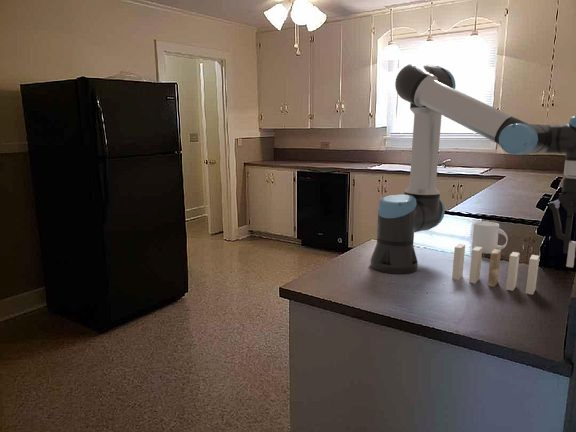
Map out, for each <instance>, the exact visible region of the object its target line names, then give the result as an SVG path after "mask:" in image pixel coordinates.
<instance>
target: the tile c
mask: <svg viewBox="0 0 576 432" xmlns="http://www.w3.org/2000/svg"><path fill="white" fill-rule="evenodd" d="M520 255H521V254H520V252H518V251H512V252H511V253H510V254H509V260H508V269H507V276H506V285H505V286H506V289H505V290H506V291H507V290H508V291H512V292H513V291H514V290H515V288H516V287H517V281H518V272H519V271H518V270H519V261H520Z"/></svg>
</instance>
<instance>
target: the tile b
mask: <svg viewBox="0 0 576 432" xmlns="http://www.w3.org/2000/svg"><path fill="white" fill-rule="evenodd" d="M482 255H483V254H482V247H477V246H476V247H475V248H474V249H472V248H471V257H470V267H469V270H470V271H469V278H468V279H469V280H468V282H469V283H471V284H477V283H478V281H479V280H480V276H481V267H482V258H483V257H482Z"/></svg>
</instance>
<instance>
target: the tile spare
mask: <svg viewBox="0 0 576 432" xmlns="http://www.w3.org/2000/svg"><path fill="white" fill-rule="evenodd" d="M501 255H502V249H501V250H497V249H494V250H493V251H492V252H491V254H490V258H489V269H488V279H487V287H493V288H495V287H496V285H497V284H498V283H499V277H500V276H499V274H500V264H501Z"/></svg>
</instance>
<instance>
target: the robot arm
mask: <svg viewBox="0 0 576 432" xmlns="http://www.w3.org/2000/svg"><path fill="white" fill-rule="evenodd" d="M394 84H395V85H394V86H395V91H396V93H397V95H398V96H399V97H400V98H401V99H402V100H404V101H406V102H408V103H410V104H409V106H410V107H409V109H410V111H411V112H412V113H413V115H414V116H413V127H412V128H413V129H412V143H411V158H410V173H409V186H407V188H406V189H404V194H391V195H387V196H384V197H382V198H381V199H380V200H379V202H378V208H377V228H376V229H377V230H376V231H377V233H376V234H377V235H376V244H375V246H374V249H373V251H372V255H371V257H370V262H369V263H370V265H369V266H370V267H371V268H372V269H373V270H376V271H378V272H381V273H387V274H393V275H394V274H396V275H403V274H404V275H405V274H412V273H414V272H417V270H418V268H419V267H418V265H419V263H418V259H417V255H416V254H417V253H416V251H415V248H414V239H415V233H418V232H421V231H429V230H431V229H433V228H435V227H437V226H438V225H440V223H441V222H442V221H443V219H444V216H445V213H446V212H445V210H446V208H445V205H444V203H443V201H442V199H441V191H439V189H437V187H436V186H437V175H438V163H439V152H440V151H439V150H440V140H441V139H440V137H441V128H442V127H441V126H442V116H443V117H445V118H448V119H449V120H451V121H453V122H456V123H457V124H459V125H460V126H463V127H465V128H467V129H469V130H470V131H473V132H475V133H476V134H478V135H480V136H483V137H484V138H486V139H488V140H490V141H492V142H494V143H495V144H498V145H499V146H500V148H501V149H502V150H503V152H505V153H507V154H509V155H515V156H521V155H529V154H531V155H532V154H565V160H564V169H563V176H565V177H564V178H562V187H561V193H560V195H559V196H558V199H556V200H554V201H550V202H549V203H548V207H549V208H550V210H551V212H552V217H553V223H554V230H555V235H556V239H558V240H561V241H563V247H562V251H563V254H567V257H566V264H565V266H566V267H568V268H574V265H575V258H576V240H575V241H574V240H571V236H572V235H571V234H572V228H573V219H574V218H573V217H574V214H575V213H576V116H574V115H573V116H571V117H570V118H569V122H568V123H566V124H534V123H532V124H531V123H528V122H526V121H524V120H521V119H518V118H516V117H514V116H512V115H511V114H508V113H505V112H503V110H500V109H498V108H496V107H494V106H491V105H489V104H486V103H484V102H483V101H480V100H478V99H476V98H474V97H472V96H470V95H468V94H466V93H463V92H462V91H460V90H458V89H456V79H455V77H454V75H453V74H452V73H451V72H450V70H448V69H446V68H444V67H442V66H439V65H431V64H426V63H421V62H413V63H409V64H407V65H406V66H403V68H402V69H400V71H399V72H398V73H397V75H396V79H395V83H394ZM560 205H561V206H562V208H564V210H565V211H566V212H567V213H566V221H565V231H564V234H563V229H562V223H561V216H560V212H559V208H560Z"/></svg>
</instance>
